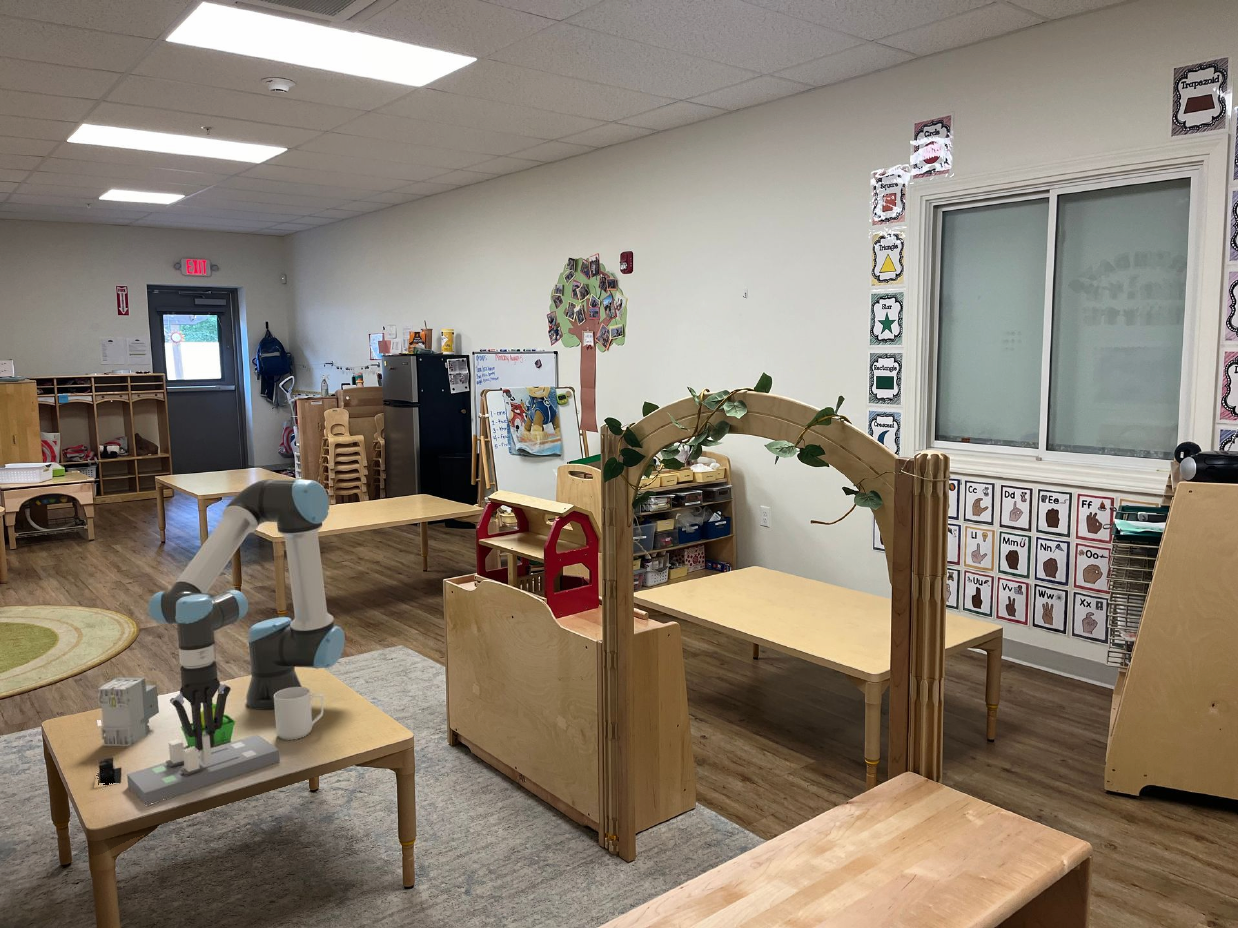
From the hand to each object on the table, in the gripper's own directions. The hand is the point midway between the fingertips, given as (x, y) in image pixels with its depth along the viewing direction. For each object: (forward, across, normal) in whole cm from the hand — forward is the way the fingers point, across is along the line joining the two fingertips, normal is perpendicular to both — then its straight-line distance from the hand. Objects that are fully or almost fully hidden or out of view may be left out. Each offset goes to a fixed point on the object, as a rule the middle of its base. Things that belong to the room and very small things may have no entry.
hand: (206, 761), depth 207 cm
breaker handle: (+1, -4, +7) cm, 8 cm away
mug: (+5, +27, +10) cm, 29 cm away
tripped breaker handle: (+1, -3, 0) cm, 3 cm away
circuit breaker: (+5, -4, +42) cm, 42 cm away
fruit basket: (+5, +8, +21) cm, 23 cm away
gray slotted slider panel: (+5, +1, +4) cm, 6 cm away
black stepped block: (+5, -16, +19) cm, 25 cm away
